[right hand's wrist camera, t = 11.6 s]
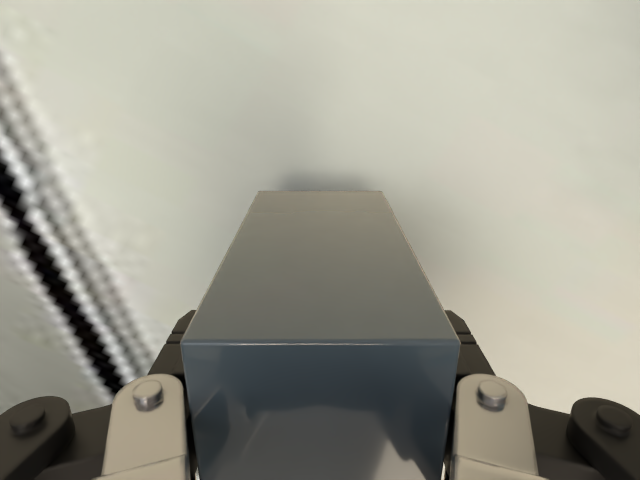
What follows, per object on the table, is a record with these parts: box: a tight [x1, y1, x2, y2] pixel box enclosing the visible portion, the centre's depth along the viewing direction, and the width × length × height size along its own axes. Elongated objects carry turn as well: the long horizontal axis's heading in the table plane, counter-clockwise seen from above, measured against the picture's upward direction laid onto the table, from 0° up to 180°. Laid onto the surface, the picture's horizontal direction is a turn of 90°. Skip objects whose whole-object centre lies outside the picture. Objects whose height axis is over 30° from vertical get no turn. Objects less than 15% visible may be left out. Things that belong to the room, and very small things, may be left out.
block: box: [180, 191, 461, 480], centre depth 12 cm, size 5×5×10 cm
